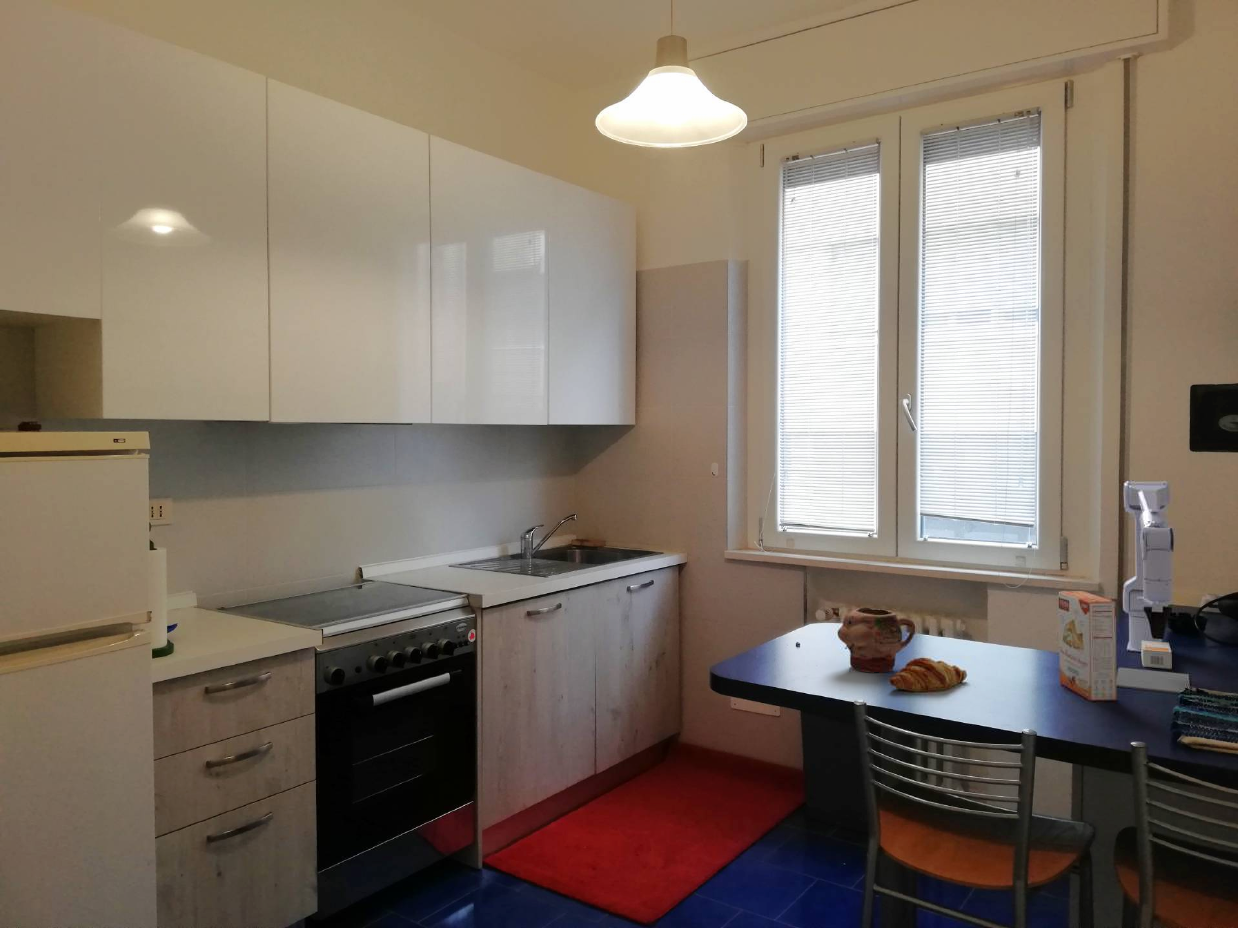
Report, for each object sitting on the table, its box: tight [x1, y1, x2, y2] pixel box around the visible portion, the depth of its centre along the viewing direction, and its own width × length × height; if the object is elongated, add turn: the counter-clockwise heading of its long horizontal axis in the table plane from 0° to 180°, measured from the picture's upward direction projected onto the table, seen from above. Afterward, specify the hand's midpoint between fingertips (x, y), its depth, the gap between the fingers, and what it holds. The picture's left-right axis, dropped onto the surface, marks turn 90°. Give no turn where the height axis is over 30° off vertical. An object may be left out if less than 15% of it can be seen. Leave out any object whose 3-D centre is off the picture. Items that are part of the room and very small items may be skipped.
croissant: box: [889, 657, 968, 693], centre depth 201 cm, size 21×10×8 cm, turn 115°
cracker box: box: [1058, 590, 1118, 702], centre depth 194 cm, size 14×6×21 cm, turn 178°
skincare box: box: [1140, 640, 1173, 670], centre depth 220 cm, size 6×4×12 cm
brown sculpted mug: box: [837, 607, 916, 673], centre depth 218 cm, size 20×12×14 cm, turn 108°
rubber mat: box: [1116, 667, 1191, 695], centre depth 203 cm, size 18×14×1 cm
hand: (1157, 638), depth 208 cm, fingers closed
